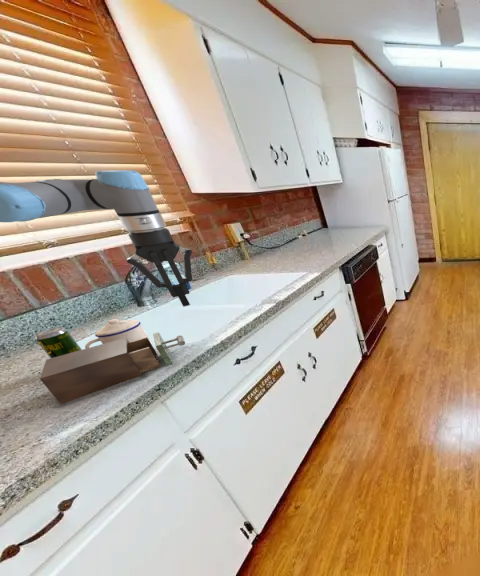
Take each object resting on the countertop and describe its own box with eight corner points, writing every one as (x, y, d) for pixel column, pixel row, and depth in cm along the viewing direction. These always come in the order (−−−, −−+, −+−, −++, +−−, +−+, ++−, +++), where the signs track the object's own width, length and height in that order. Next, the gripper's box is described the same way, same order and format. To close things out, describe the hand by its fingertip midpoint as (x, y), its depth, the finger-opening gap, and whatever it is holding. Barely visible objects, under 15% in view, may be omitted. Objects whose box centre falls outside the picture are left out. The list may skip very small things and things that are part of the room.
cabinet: (141, 362, 91) (126, 337, 87) (143, 378, 84) (127, 352, 81) (67, 386, 81) (46, 359, 78) (62, 406, 75) (39, 378, 71)
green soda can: (67, 363, 90) (41, 330, 86) (94, 357, 93) (69, 324, 88) (55, 372, 86) (26, 338, 81) (83, 366, 89) (57, 332, 84)
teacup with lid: (150, 340, 102) (132, 310, 97) (157, 347, 97) (137, 317, 92) (94, 358, 93) (71, 327, 88) (98, 368, 88) (73, 335, 83)
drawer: (188, 345, 98) (178, 326, 95) (192, 357, 92) (182, 338, 89) (107, 370, 86) (93, 350, 83) (106, 387, 80) (91, 365, 77)
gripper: (110, 236, 75) (156, 316, 84) (182, 227, 84) (216, 300, 94) (110, 232, 79) (154, 308, 89) (179, 224, 88) (212, 294, 98)
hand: (186, 304), depth 91 cm, fingers closed
